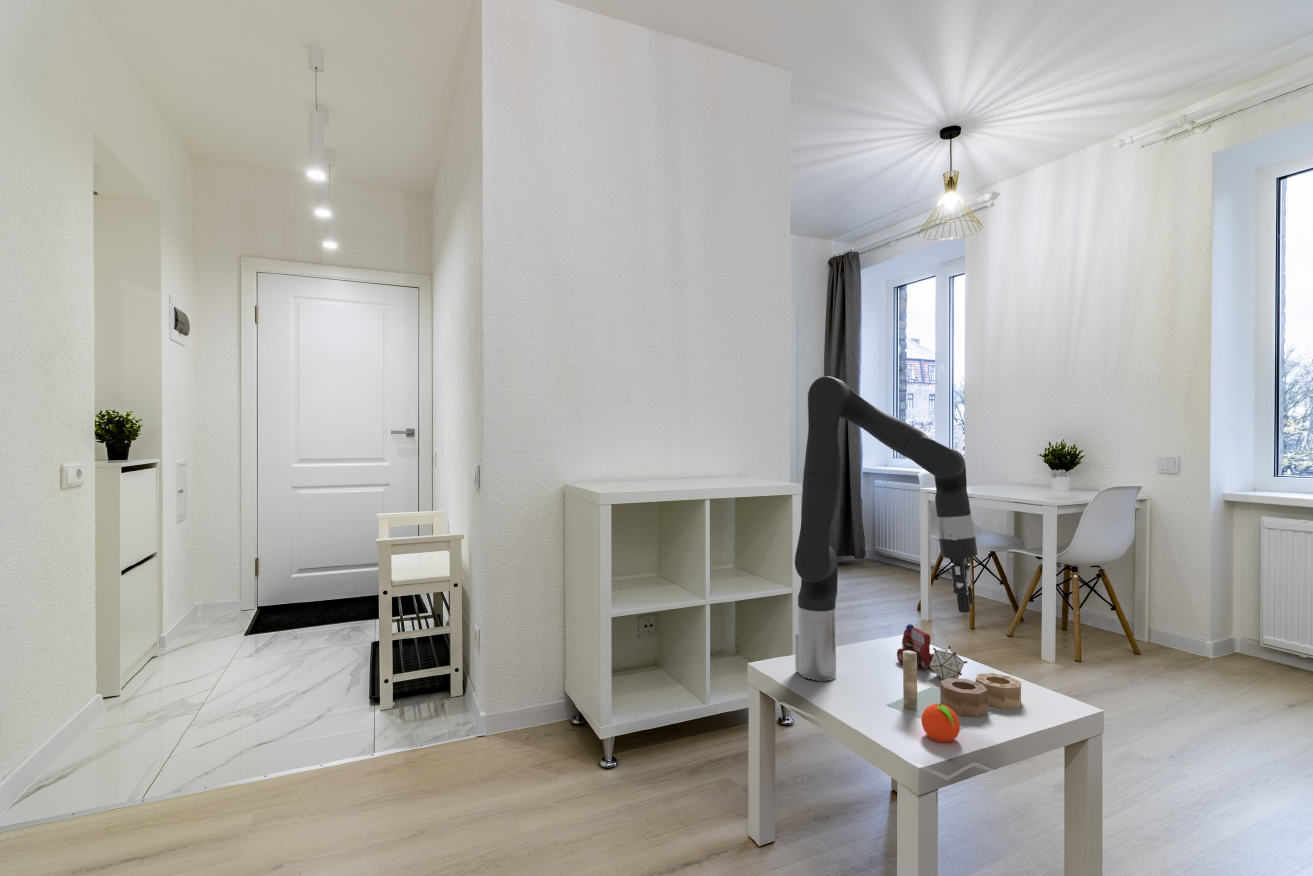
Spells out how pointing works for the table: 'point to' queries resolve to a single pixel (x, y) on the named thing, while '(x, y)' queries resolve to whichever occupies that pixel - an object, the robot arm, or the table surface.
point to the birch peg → (910, 680)
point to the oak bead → (1001, 690)
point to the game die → (946, 663)
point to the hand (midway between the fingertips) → (966, 607)
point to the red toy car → (916, 646)
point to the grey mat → (933, 697)
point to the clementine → (940, 723)
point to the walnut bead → (964, 697)
